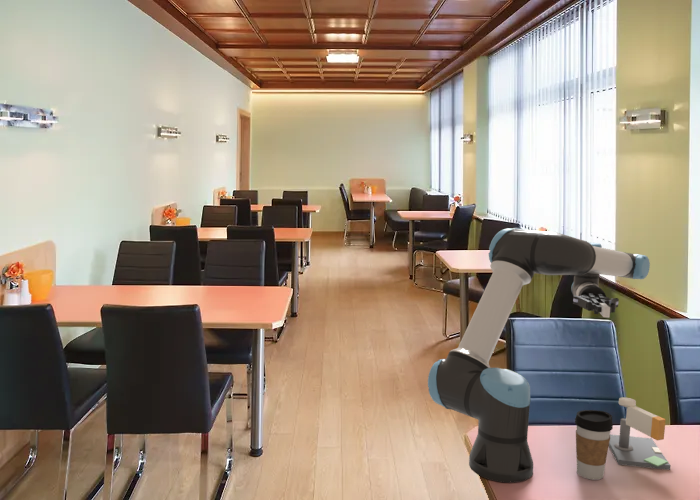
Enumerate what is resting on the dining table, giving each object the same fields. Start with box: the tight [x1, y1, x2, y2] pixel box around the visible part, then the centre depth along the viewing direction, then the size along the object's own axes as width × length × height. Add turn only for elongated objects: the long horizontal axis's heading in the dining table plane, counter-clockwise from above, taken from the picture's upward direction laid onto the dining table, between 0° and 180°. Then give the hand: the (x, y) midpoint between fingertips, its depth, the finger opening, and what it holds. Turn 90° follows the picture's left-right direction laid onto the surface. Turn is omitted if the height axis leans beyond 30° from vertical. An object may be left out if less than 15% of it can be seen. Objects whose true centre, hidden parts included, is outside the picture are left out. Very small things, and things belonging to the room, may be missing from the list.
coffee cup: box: [574, 409, 614, 481], centre depth 147 cm, size 8×8×15 cm
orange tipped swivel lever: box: [618, 396, 666, 448], centre depth 155 cm, size 13×4×12 cm, turn 21°
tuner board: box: [608, 433, 671, 471], centre depth 159 cm, size 12×18×2 cm
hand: (606, 312), depth 166 cm, fingers closed
